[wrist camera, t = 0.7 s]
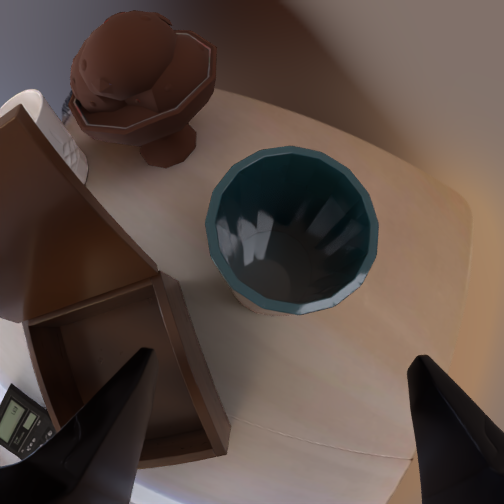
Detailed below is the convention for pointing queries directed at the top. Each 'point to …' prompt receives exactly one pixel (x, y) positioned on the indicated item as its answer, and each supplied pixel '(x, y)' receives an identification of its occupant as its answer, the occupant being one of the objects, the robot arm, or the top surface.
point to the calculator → (23, 423)
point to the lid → (54, 230)
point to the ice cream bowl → (143, 85)
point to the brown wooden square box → (119, 352)
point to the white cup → (50, 129)
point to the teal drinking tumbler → (291, 231)
